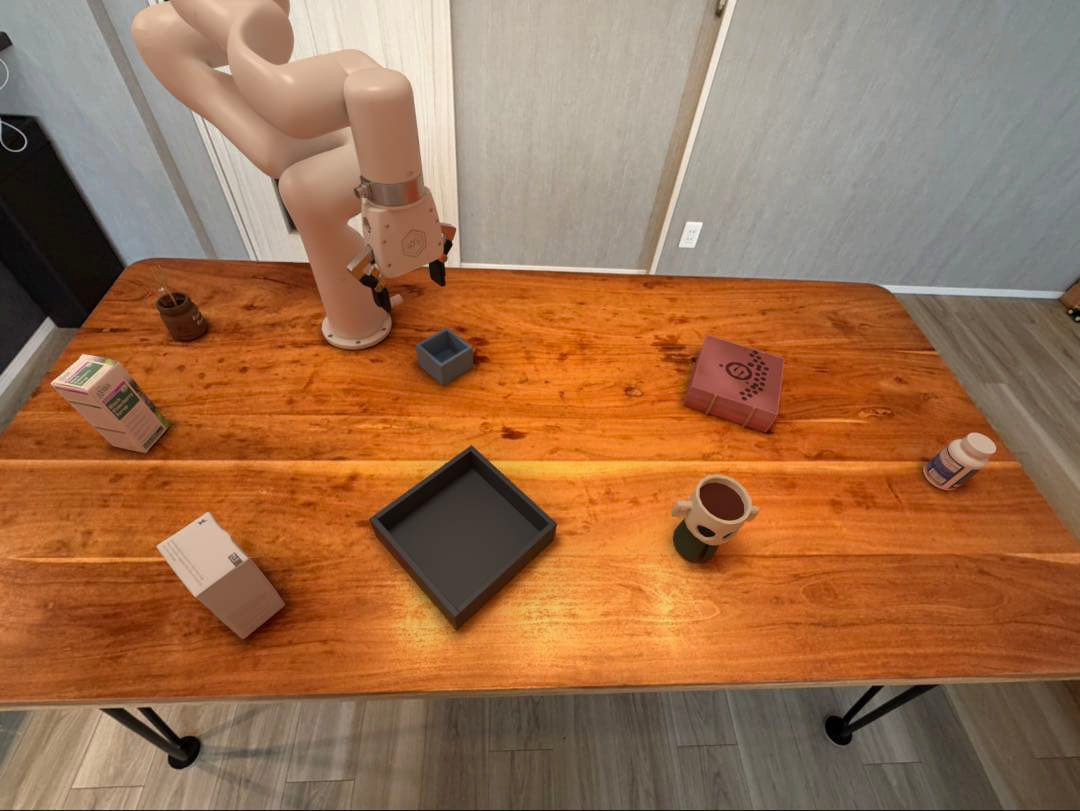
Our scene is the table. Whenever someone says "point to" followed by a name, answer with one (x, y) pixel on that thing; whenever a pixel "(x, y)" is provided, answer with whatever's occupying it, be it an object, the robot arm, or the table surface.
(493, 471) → the large bin
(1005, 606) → the table surface
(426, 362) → the small bin
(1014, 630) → the table surface
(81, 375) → the syrup box
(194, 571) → the cosmetic box
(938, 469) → the pill bottle
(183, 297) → the utensil holder
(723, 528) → the character mug
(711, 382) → the book
